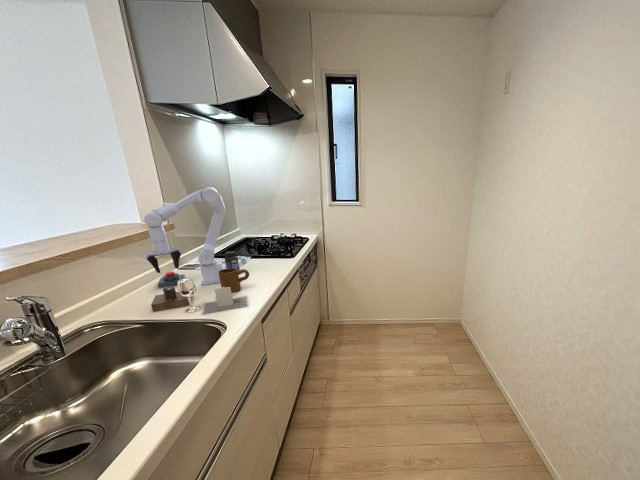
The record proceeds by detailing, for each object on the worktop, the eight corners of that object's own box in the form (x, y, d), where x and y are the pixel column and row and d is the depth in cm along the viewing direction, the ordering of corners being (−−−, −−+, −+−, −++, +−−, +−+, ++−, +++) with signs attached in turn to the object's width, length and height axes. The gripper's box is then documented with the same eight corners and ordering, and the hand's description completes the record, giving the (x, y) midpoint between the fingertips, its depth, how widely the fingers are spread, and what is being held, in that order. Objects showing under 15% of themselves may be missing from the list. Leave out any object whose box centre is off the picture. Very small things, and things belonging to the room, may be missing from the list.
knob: (166, 296, 126) (163, 287, 124) (177, 294, 127) (175, 285, 126) (164, 299, 123) (161, 290, 121) (176, 297, 124) (173, 288, 123)
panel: (191, 296, 133) (189, 289, 132) (189, 305, 124) (187, 298, 123) (157, 302, 128) (155, 294, 127) (153, 311, 119) (150, 304, 118)
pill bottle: (235, 274, 160) (231, 253, 156) (224, 274, 161) (220, 253, 157) (242, 271, 166) (238, 250, 162) (232, 270, 167) (228, 250, 163)
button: (175, 274, 151) (174, 271, 150) (174, 276, 148) (173, 272, 147) (166, 275, 149) (165, 272, 149) (165, 277, 146) (164, 274, 146)
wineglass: (188, 307, 123) (180, 278, 118) (203, 306, 123) (196, 277, 119) (180, 313, 117) (172, 283, 113) (196, 312, 118) (188, 282, 113)
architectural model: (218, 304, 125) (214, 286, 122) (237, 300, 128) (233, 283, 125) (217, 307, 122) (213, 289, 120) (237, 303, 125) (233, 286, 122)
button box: (185, 278, 156) (183, 270, 155) (184, 284, 148) (181, 276, 146) (161, 281, 152) (159, 274, 150) (158, 288, 143) (156, 280, 142)
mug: (252, 285, 145) (248, 266, 142) (251, 290, 138) (247, 270, 135) (223, 289, 141) (219, 269, 138) (221, 294, 134) (216, 274, 131)
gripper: (144, 244, 129) (153, 276, 134) (181, 238, 140) (189, 267, 145) (137, 243, 132) (146, 273, 137) (174, 237, 144) (181, 265, 149)
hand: (168, 270), depth 141 cm, fingers open, 7 cm apart
